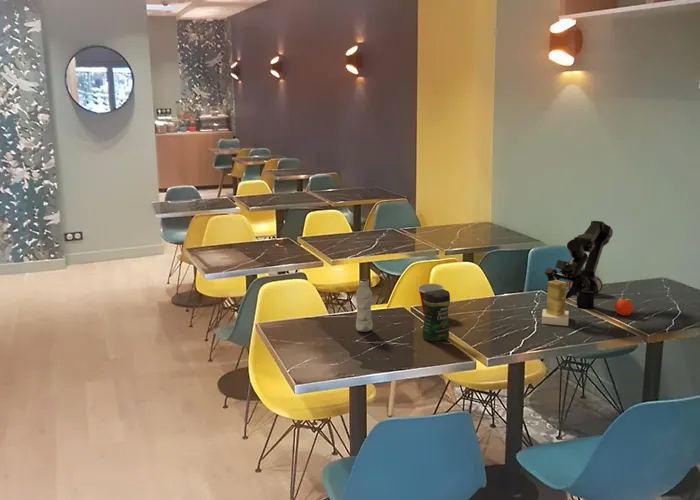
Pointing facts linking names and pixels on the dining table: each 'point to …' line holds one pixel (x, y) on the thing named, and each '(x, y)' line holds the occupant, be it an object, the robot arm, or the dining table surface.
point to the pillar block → (556, 297)
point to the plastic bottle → (364, 306)
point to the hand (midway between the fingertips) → (556, 295)
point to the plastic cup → (426, 288)
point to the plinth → (555, 318)
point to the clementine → (624, 306)
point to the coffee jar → (436, 315)
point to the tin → (597, 283)
